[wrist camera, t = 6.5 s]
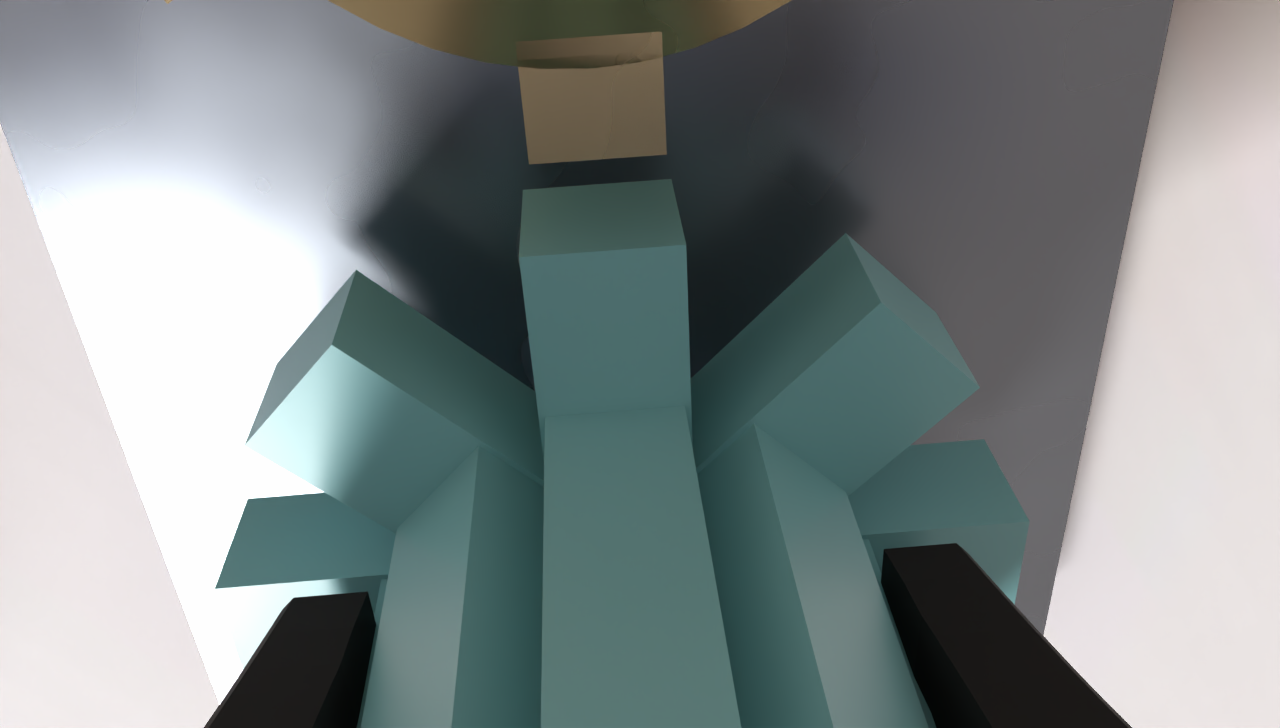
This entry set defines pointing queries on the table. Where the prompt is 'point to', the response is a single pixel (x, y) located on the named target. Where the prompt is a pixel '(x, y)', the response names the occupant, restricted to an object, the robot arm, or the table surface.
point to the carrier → (560, 157)
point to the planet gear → (622, 491)
